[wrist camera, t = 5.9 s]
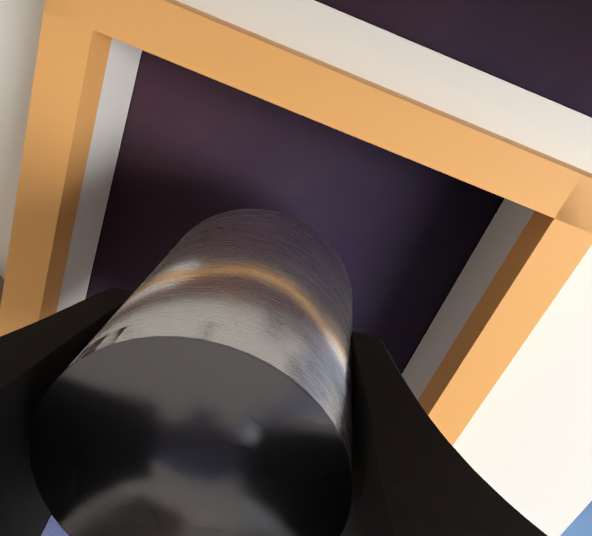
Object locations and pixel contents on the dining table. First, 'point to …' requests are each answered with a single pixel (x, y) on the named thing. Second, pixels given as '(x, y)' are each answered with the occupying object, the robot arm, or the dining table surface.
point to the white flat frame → (366, 126)
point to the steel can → (211, 394)
